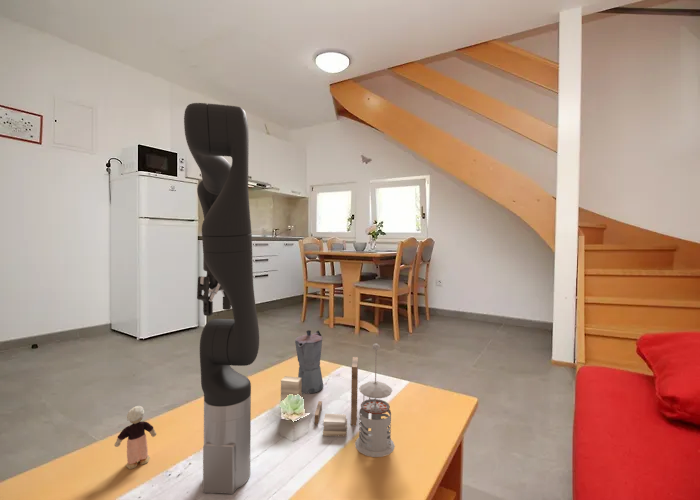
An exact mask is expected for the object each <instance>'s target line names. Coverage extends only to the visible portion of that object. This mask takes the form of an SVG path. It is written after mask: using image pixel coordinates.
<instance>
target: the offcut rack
mask: <svg viewBox="0 0 700 500" xmlns="http://www.w3.org/2000/svg"><path fill="white" fill-rule="evenodd" d="M358 371H359V356H352V362H351V389H350V390H351V391H350V393H351V394H350V395H351V397H350V399H351V400H350V401H351V402H350V426H355V427H356V426H357V425H358V423H357V421H358V419H357V418H358V389H359V387H358V386H359V385H358V381H359V380H358V376H359V375H358ZM322 410H323V401H322V400H321V401H319V400H318V402H317V406H316V409H315V412H314V418H313V419H314V421H313V423H314V425H319V422H320V420H321V419H320V417H321V414H322Z"/></svg>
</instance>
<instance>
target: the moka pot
mask: <svg viewBox="0 0 700 500" xmlns="http://www.w3.org/2000/svg"><path fill="white" fill-rule="evenodd" d="M311 333H312V330H310V329H309V330H306V334H303V335H300V336H297V337H296V338H295V341H294V343H295V349H296V356H297V362H298V366H299V367H298V374H297V375H298V376H297V377H298V378H302V389H301V393H302V392H303V393H302V394H315V393H317V392H320V391H322V389H323V388H324V380H323V375H322V370H321V369H322V368H321V357H322V345H323V336H322V334H321V332H320V330H317V331H316V332H313V333H312V334H311Z"/></svg>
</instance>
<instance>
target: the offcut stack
mask: <svg viewBox="0 0 700 500" xmlns="http://www.w3.org/2000/svg"><path fill="white" fill-rule="evenodd" d="M322 424H323V429H322V436H324V437H345V438H346V437H347V434H348V433H347V431H348V418H347V414H345V413H344V414H343V413H324V418H323V423H322Z"/></svg>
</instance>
